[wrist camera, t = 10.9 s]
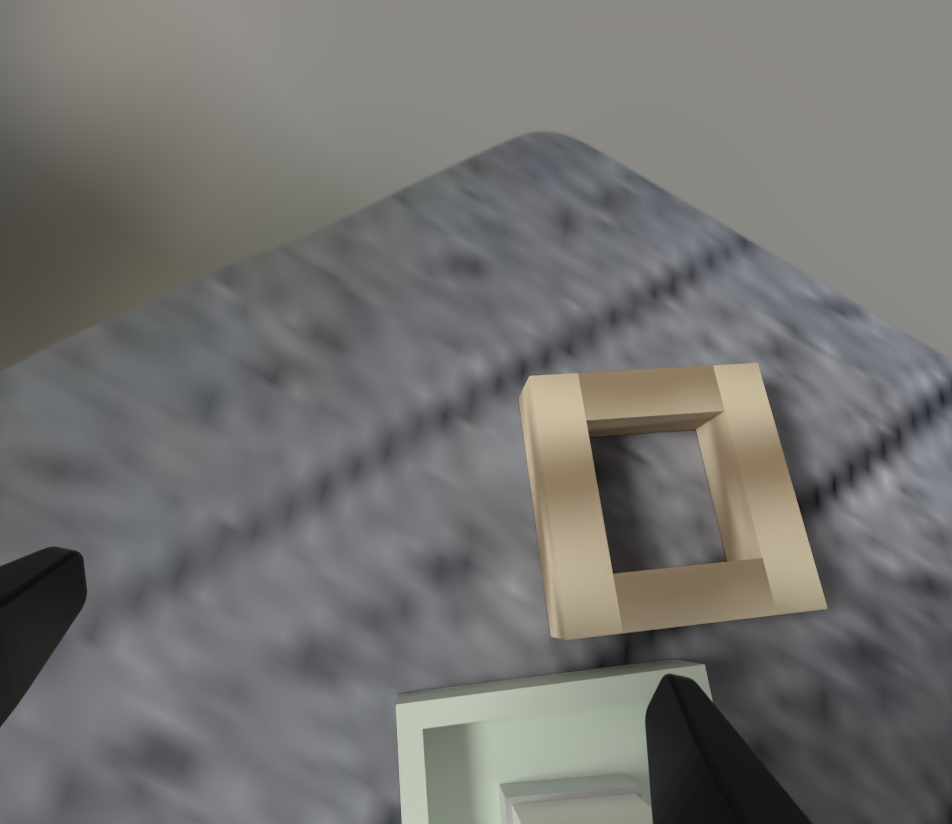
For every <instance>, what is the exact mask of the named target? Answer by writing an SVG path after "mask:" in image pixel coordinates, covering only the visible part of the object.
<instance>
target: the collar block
mask: <svg viewBox="0 0 952 824" xmlns="http://www.w3.org/2000/svg"><path fill="white" fill-rule="evenodd" d="M519 404H520V412H521V419H522V426H523V434H524V441H525V449H526V456H527V463H528V471H529V478H530V486H531V493H532V500H533V508H534V515H535V523H536V530H537V537H538V545H539V552H540V560H541V567H542V574H543V582H544V589H545V596H546V604H547V611H548V619H549V626H550V633H551V637H555V638H560V639H565V640H571V639H580V638H588V637H596V636H605V635H613V634H622V633H630V632H638V631H647V630H655V629H663V628H672V627H680V626H689V625H697V624H705V623H714V622H722V621H730V620H739V619H747V618H756V617H764V616H772V615H781V614H789V613H797V612H806V611H814V610H823V609H828V608H827V604H826V601H825V597H824V594H823V590H822V587H821V583H820V580H819V576H818V573H817V569H816V566H815V562H814V559H813V555H812V552H811V548H810V545H809V541H808V538H807V534H806V531H805V527H804V524H803V520H802V517H801V513H800V510H799V506H798V502H797V499H796V495H795V492H794V488H793V485H792V481H791V478H790V474H789V471H788V467H787V464H786V460H785V457H784V453H783V450H782V446H781V443H780V439H779V436H778V432H777V429H776V425H775V422H774V418H773V415H772V411H771V408H770V404H769V401H768V397H767V394H766V390H765V387H764V383H763V380H762V376H761V373H760V369H759V366H758V363H748V364H731V365H714V366H696V367H679V368H661V369H644V370H626V371H609V372H592V373H574V374H557V375H539V376H529V378H528V380H527V382H526V384H525V386H524V388H523V390H522V392H521V394H520V396H519ZM695 429H696V432H697V436H698V440H699V444H700V449H701V453H702V457H703V461H704V465H705V470H706V474H707V478H708V482H709V486H710V491H711V495H712V499H713V503H714V507H715V512H716V516H717V520H718V524H719V528H720V533H721V537H722V541H723V545H724V549H725V554H726V558H727V562H720V563H710V564H701V565H691V566H682V567H672V568H663V569H653V570H644V571H634V572H624V573H615V574H613V572H612V566H611V560H610V554H609V549H608V543H607V537H606V531H605V526H604V520H603V514H602V508H601V503H600V497H599V491H598V485H597V480H596V474H595V468H594V462H593V457H592V451H591V445H590V439H589V437H598V436H612V435H626V434H640V433H654V432H667V431H681V430H695Z"/></svg>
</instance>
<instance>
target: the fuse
mask: <svg viewBox="0 0 952 824" xmlns="http://www.w3.org/2000/svg"><path fill="white" fill-rule="evenodd" d="M499 797H500V817H501V824H653V820H652V809H651V807H650V806H649V805H647V804H646V803H645V802H644V801H643V800H642V799H641V792H640V786H639V785H638V784H637V783H635V782H634V781H633V780H631V779H630V778H629V777H628V776H626V775H625V774H624V773H622V774H610V775H599V776H587V777H575V778H563V779H551V780H539V781H527V782H516V783H504V784H499Z"/></svg>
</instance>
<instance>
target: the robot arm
mask: <svg viewBox="0 0 952 824" xmlns="http://www.w3.org/2000/svg"><path fill="white" fill-rule="evenodd" d="M86 596H87V586H86V577H85V568H84V560H83V556H82V555H81V554H80V552H78V551H75V550H70V549H65V548H60V547H48V548H45V549H42V550H39V551H37V552H34V553H32V554H29V555H27V556H24V557H22V558H19V559H17V560H15V561H12V562H10V563H7V564H5V565H2V566H0V727H1V725H2V724H3V723H4V722H5V720H6V719H7V718H8V717H9V715H10V714H11V713H12V711H13V710H14V709H15V707H16V706H17V705H18V703H19V702H20V701H21V699H22V698H23V696H24V695H25V693H26V692H27V691H28V689H29V688H30V686H31V685H32V683H33V682H34V680H35V679H36V677H37V676H38V674H39V673H40V671H41V670H42V668H43V667H44V665H45V664H46V662H47V661H48V659H49V658H50V656H51V654H52V653H53V651H54V650H55V648H56V647H57V645H58V644H59V642H60V641H61V639H62V638H63V636H64V635H65V633H66V632H67V630H68V629H69V627H70V626H71V624H72V623H73V621H74V620H75V618H76V617H77V615H78V614H79V612H80V611H81V609H82V607H83V605H84V603H85V600H86ZM645 730H646V743H647V757H648V770H649V783H650V796H651V809H652V820H653V824H812V822H811V821H810V820H809V819H808V817H807V816H806V815H805V814H804V813H803V811H802V810H801V809H800V808H799V807H798V805H797V804H796V803H795V802H794V800H793V799H792V798H791V797H790V796H789V794H788V793H787V792H786V791H785V790H784V788H783V787H782V786H781V785H780V783H779V782H778V781H777V780H776V779H775V777H774V776H773V775H772V774H771V772H770V771H769V770H768V769H767V768H766V766H765V765H764V764H763V763H762V762H761V760H760V759H759V758H758V757H757V755H756V754H755V753H754V752H753V751H752V749H751V748H750V747H749V746H748V744H747V743H746V742H745V741H744V740H743V738H742V737H741V736H740V735H739V734H738V732H737V731H736V730H735V729H734V727H733V726H732V725H731V724H730V723H729V721H728V720H727V719H726V718H725V716H724V715H723V714H722V713H721V712H720V710H719V709H718V708H717V707H716V706H715V704H714V703H713V702H712V701H711V699H710V698H709V697H708V696H707V695H706V693H705V692H704V691H703V690H702V689H701V687H700V686H699V685H698V684H697V683H696V682H695V681H694V680H693V679H691V678H689V677H685V676H680V675H675V674H671V673H669V674H665V675H664V676H663V677H662V679H661V681H660V683H659V685H658V687H657V689H656V690H655V692H654V694H653V696H652V698H651V700H650V702H649V704H648V707H647V710H646V715H645Z"/></svg>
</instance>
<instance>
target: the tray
mask: <svg viewBox="0 0 952 824" xmlns="http://www.w3.org/2000/svg"><path fill="white" fill-rule="evenodd" d="M669 673H671V674H675V675H680V676H685V677H689V678H691V679H693V680H694V681H695V682H696V683H697V684H698V685H699V686H700V687H701V689H702V690H703V691H704V692H705V693H706V695H707V696H708V697H709V698H710V699H711V701H712V702H713V700H712V696H711V691H710V686H709V682H708V677H707V672H706V667H705V664H700V663H694V662H689V661H684V660H678V659H667V660H659V661H651V662H644V663H636V664H628V665H620V666H612V667H604V668H596V669H588V670H581V671H573V672H565V673H557V674H549V675H541V676H533V677H525V678H518V679H510V680H502V681H494V682H486V683H478V684H470V685H462V686H454V687H447V688H439V689H431V690H423V691H415V692H407V693H399V694H398V697H397V701H396V718H397V737H398V757H399V776H400V795H401V815H402V824H501V817H500V797H499V784H504V783H516V782H527V781H539V780H551V779H563V778H575V777H587V776H599V775H610V774H622V773H624V774H625V775H626V776H628V777H629V778H630V779H631V780H633V781H634V782H635V783H637V784H638V785H639V786H640V792H641V799H642V800H643V801H644V802H645V803H646V804H647V805H649V806H650V807H651V796H650V783H649V770H648V757H647V743H646V730H645V715H646V710H647V707H648V704H649V702H650V700H651V698H652V696H653V694H654V692H655V690H656V689H657V687H658V685H659V683H660V681H661V679H662V677H663V676H664V675H665V674H669Z"/></svg>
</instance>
